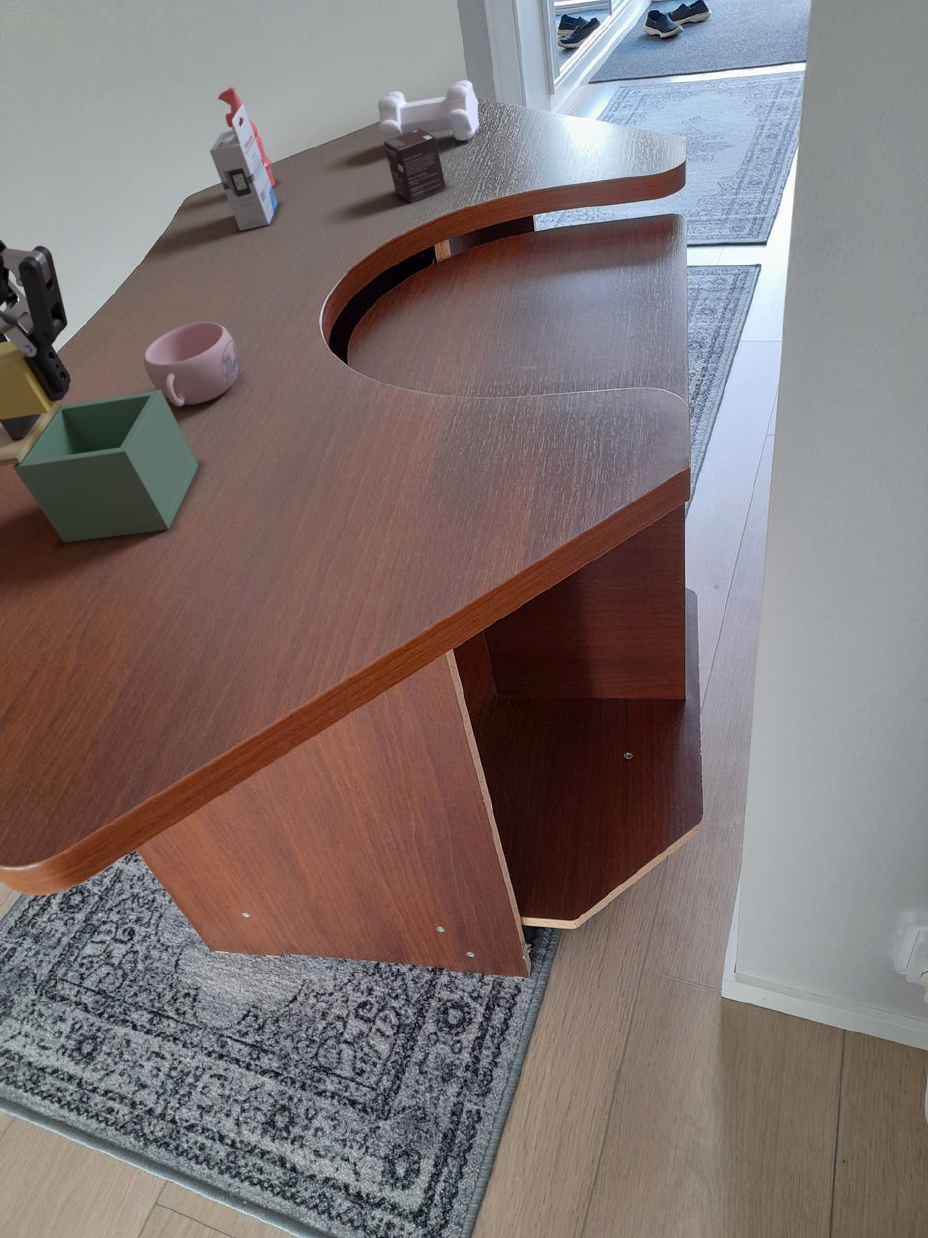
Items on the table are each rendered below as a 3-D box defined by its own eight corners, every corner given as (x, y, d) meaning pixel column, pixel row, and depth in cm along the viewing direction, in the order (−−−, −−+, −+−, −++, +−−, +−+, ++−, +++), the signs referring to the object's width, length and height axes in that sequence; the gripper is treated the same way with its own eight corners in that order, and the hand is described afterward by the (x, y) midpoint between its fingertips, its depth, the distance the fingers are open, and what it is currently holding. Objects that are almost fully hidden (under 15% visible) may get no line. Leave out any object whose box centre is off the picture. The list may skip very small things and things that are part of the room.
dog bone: (384, 158, 147) (371, 104, 142) (400, 138, 153) (387, 86, 147) (471, 146, 142) (461, 89, 137) (484, 126, 148) (474, 71, 143)
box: (395, 193, 135) (382, 141, 129) (431, 179, 136) (419, 127, 130) (410, 203, 130) (397, 149, 125) (447, 188, 131) (436, 135, 126)
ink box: (249, 210, 143) (212, 109, 133) (279, 203, 142) (244, 101, 132) (239, 231, 137) (199, 127, 127) (269, 225, 136) (232, 119, 126)
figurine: (243, 194, 149) (207, 95, 139) (256, 182, 152) (222, 84, 142) (270, 191, 147) (235, 90, 137) (282, 178, 151) (249, 79, 140)
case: (168, 529, 83) (124, 451, 77) (63, 542, 86) (12, 467, 80) (198, 465, 90) (160, 389, 84) (100, 479, 93) (56, 405, 87)
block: (48, 412, 65) (17, 364, 63) (0, 420, 66) (-32, 372, 63) (69, 382, 68) (40, 335, 65) (23, 390, 69) (-7, 343, 66)
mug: (182, 371, 106) (160, 325, 102) (259, 362, 104) (239, 314, 100) (143, 429, 98) (118, 382, 94) (226, 420, 96) (203, 371, 92)
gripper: (-250, 206, 54) (-71, 441, 66) (-49, 160, 51) (100, 415, 63) (-179, 159, 59) (-25, 385, 71) (8, 115, 56) (136, 358, 68)
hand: (33, 398), depth 67 cm, fingers closed on block, 4 cm apart
